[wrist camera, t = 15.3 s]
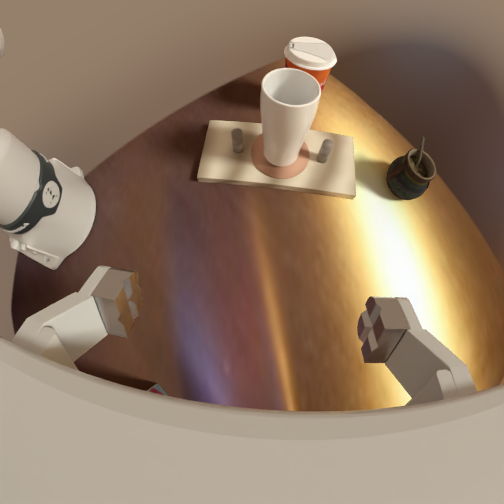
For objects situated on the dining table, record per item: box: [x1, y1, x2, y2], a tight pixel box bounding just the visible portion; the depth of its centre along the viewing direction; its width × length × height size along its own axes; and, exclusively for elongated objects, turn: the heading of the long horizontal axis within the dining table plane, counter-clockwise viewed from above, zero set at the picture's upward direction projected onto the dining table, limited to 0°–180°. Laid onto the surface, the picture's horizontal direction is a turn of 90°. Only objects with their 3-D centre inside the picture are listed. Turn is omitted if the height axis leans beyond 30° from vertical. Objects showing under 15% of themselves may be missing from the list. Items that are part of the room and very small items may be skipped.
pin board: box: [197, 120, 356, 199], centre depth 40 cm, size 24×11×6 cm, turn 84°
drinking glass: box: [260, 68, 321, 167], centre depth 34 cm, size 7×7×15 cm
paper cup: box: [284, 37, 337, 93], centre depth 39 cm, size 8×8×14 cm
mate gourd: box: [387, 136, 436, 200], centre depth 38 cm, size 7×8×10 cm
